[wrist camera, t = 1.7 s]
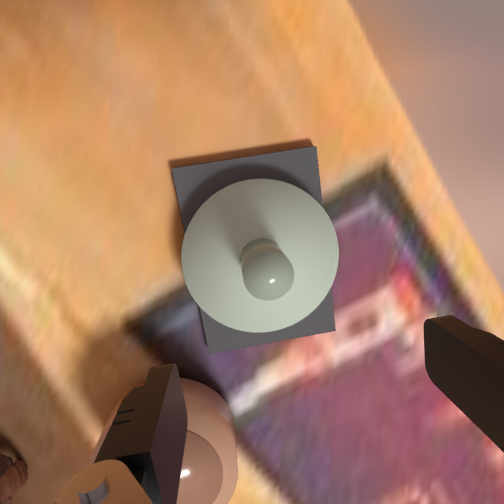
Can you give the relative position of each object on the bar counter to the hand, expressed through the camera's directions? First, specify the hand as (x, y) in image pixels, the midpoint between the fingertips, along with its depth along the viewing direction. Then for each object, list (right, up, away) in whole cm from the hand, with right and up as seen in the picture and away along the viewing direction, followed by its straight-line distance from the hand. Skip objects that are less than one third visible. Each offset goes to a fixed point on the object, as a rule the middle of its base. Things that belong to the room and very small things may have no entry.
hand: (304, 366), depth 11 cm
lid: (-1, +3, +14) cm, 15 cm away
